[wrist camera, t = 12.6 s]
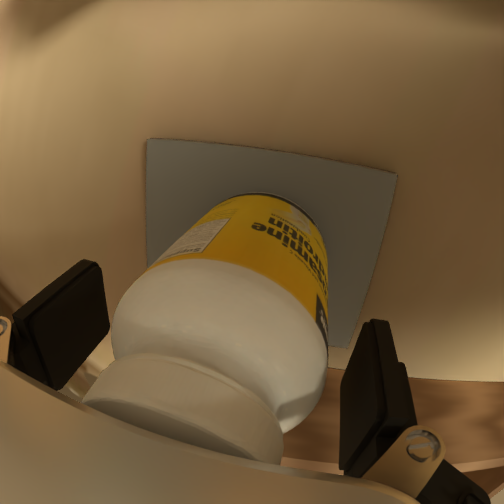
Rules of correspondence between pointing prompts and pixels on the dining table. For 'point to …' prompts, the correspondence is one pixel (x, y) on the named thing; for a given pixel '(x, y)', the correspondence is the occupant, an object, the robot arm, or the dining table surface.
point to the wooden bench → (428, 414)
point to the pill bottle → (225, 332)
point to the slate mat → (283, 184)
